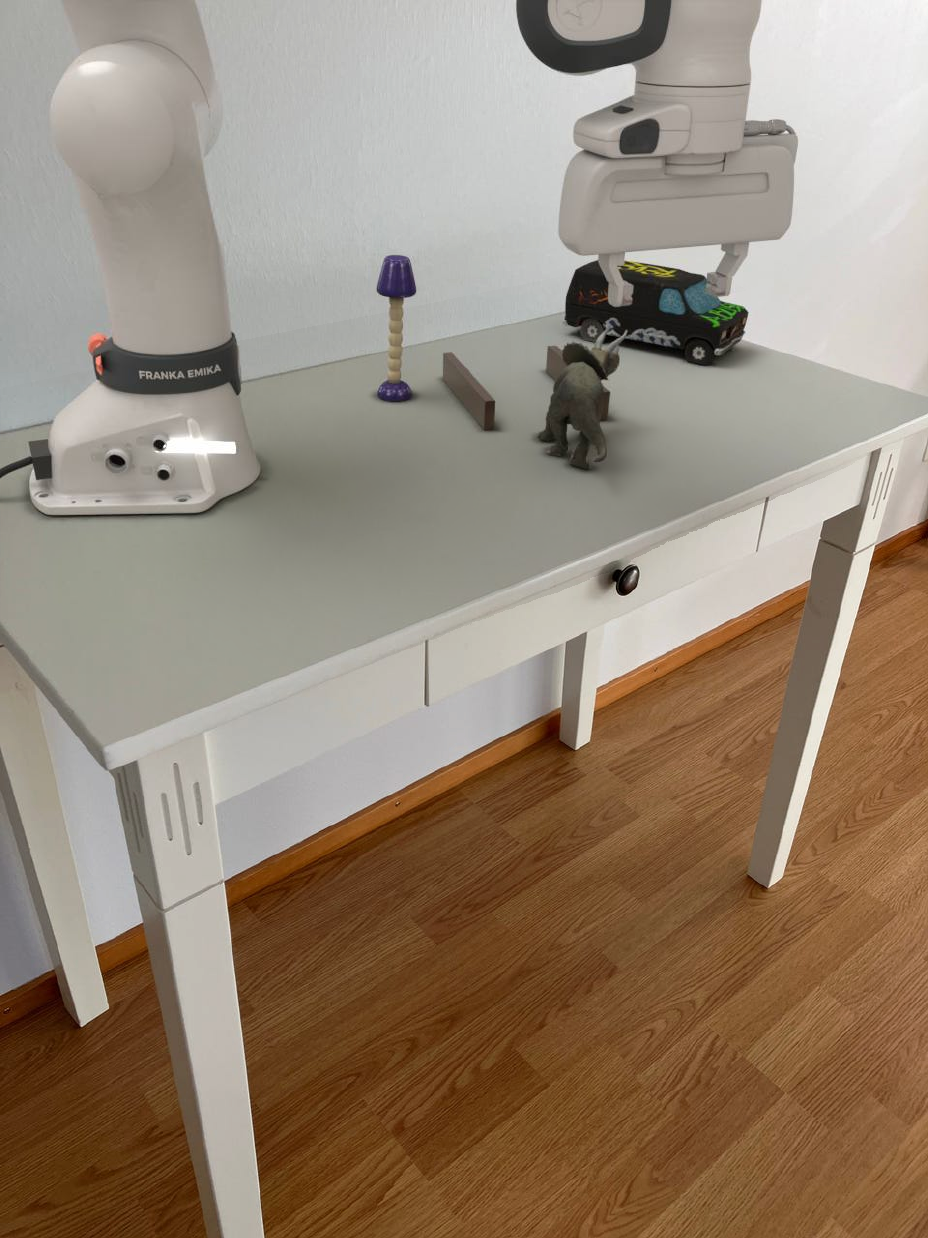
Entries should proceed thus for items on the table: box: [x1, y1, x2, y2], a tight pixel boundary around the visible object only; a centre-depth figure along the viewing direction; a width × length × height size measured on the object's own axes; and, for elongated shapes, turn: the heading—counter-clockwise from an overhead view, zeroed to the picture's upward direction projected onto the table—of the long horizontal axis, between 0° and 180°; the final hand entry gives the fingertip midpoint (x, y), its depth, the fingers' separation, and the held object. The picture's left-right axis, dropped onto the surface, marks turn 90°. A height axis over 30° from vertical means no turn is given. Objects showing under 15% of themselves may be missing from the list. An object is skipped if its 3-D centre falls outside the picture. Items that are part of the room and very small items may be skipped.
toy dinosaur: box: [537, 327, 627, 470], centre depth 110 cm, size 22×8×11 cm, turn 168°
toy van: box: [561, 259, 750, 366], centre depth 146 cm, size 11×25×10 cm, turn 57°
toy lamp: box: [376, 254, 417, 402], centre depth 122 cm, size 5×5×17 cm
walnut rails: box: [442, 345, 611, 431], centre depth 126 cm, size 15×18×4 cm
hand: (668, 299), depth 88 cm, fingers open, 8 cm apart
